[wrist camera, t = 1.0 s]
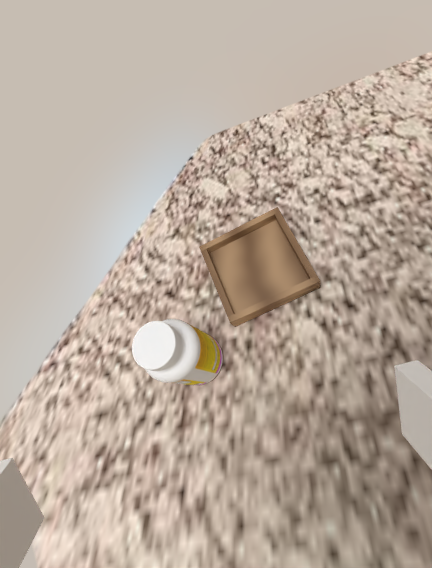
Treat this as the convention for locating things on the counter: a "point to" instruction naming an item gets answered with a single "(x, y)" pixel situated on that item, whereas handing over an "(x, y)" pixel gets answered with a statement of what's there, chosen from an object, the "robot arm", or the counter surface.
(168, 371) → the supplement bottle
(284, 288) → the walnut tray
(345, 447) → the counter surface
